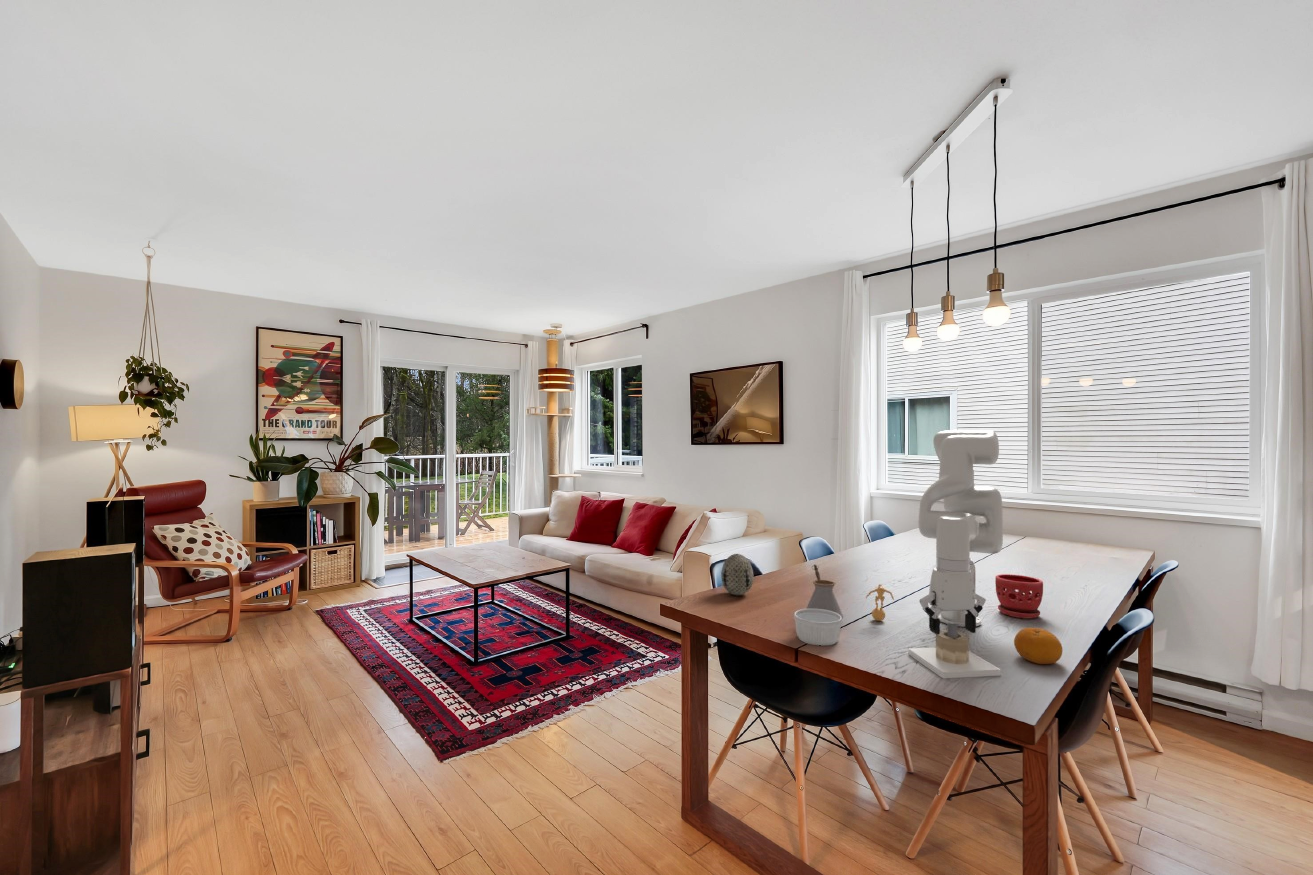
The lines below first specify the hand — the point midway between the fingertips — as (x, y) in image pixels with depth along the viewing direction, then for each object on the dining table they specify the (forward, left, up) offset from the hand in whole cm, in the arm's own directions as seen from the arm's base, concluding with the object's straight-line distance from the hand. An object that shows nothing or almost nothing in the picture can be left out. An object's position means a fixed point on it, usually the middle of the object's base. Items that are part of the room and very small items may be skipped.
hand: (952, 631), depth 143 cm
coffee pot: (-38, -19, -8) cm, 43 cm away
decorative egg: (-67, -39, -8) cm, 78 cm away
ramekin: (-21, -27, -9) cm, 35 cm away
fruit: (0, +24, -9) cm, 25 cm away
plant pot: (-35, +47, -9) cm, 59 cm away
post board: (0, 0, -8) cm, 8 cm away
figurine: (-33, -2, -8) cm, 34 cm away
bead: (0, 0, -7) cm, 7 cm away
